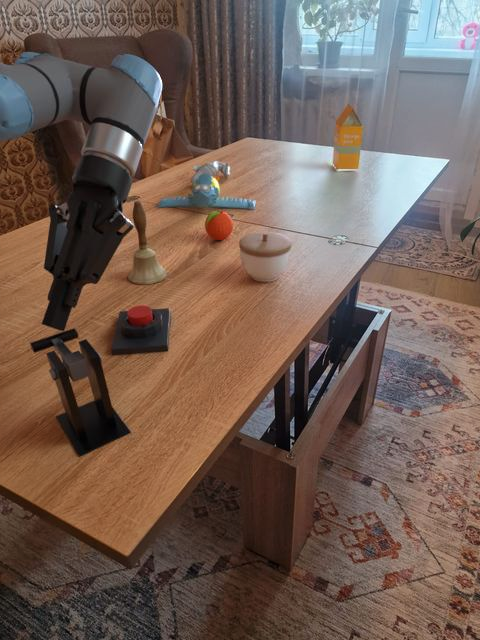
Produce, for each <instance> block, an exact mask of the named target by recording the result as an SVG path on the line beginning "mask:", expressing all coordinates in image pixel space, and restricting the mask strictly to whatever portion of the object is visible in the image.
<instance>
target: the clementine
mask: <svg viewBox="0 0 480 640" xmlns="http://www.w3.org/2000/svg"><path fill="white" fill-rule="evenodd" d="M204 229H205V232H206V234H207V235H208V236H209V237H210V238H211V239H214V240H216V241H223V240H226V239H227V238H229V237H230V236H231V235H232V233H233V230H234V222H233V219H232V217H231V216H230V214H228V213H227V212H226V211H224V210H214V211H212V212H211V213H209V214H208V215H207V216H206V219H205V222H204Z"/></svg>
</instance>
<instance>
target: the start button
mask: <svg viewBox="0 0 480 640" xmlns="http://www.w3.org/2000/svg"><path fill="white" fill-rule="evenodd" d="M151 309H152V308H151V307H150V306H148V305H136V306H132V307H130V308H129V309H128V310H127V311H128V312H127V315H128V320H129V323H130V324H131V325H134V326H140V325H146V324H148V323H150V322H152V321H153V316H152V310H151Z"/></svg>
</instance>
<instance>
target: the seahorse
mask: <svg viewBox="0 0 480 640" xmlns="http://www.w3.org/2000/svg"><path fill="white" fill-rule="evenodd" d="M192 170H193V171H194V172H195V173H193V175H192V177H191V181H190V182H191V183H192V185H194V182H195V181H194V180H196V179H198V178H199V176H200V175H202V174H206V173H208V175H209V174H210V175H211V176H212V177H214V175H216V176H218V172H220V174H222V175H223V176H224V178H225V179H226V180H227V179H229V178H230V171H231V166H230V165H229V162H228V161H227V162H226V163H224V162H222V161H219V160H218V161H217V160H212V161H209V162H206V163H204V164H201V165H195V166H193V168H192Z"/></svg>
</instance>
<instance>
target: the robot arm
mask: <svg viewBox="0 0 480 640" xmlns="http://www.w3.org/2000/svg"><path fill="white" fill-rule="evenodd" d="M162 91H163V82H162V79H161V76H160V74H159V72H158V71H157V70H156V68H155V67H153V65H151V64H150V63H149V62H147V61H146V60H145V59H143V58H141V57H139V56H137V55H133V54H129V53H125V54H123V55H122V54H119V55H116V56H115V57H114V58H113V60H112V62H111V63H110V64H109V67H108V69H105V68H101V67H95V66H90V65H87V64H83V63H79V62H75V61H71V60H68V59H63V58H60V57H56V56H54V55H52V54H49V53H38V52H33V51H26V52H22V53H21V54H20V55H19V56H18V58H17V59H16V60H15V61H14V62H13V64H5V63H3V62H1V61H0V142H5V141H13V140H16V139H20V138H22V137H24V136H26V135H27V134H30V133H33V132H34V131H38V130H41V129H43V128H47V127H49V126H52V125H55V124H57V123H62V122H64V121H74V122H78V123H82V124H84V125H89V129H88V132H87V134H86V137H85V140H84V143H83V145H82V148H81V151H80V154H81V156H80V157H79V158H78V160H77V163H76V166H75V168H74V172H73V174H72V177H71V180H72V187H73V188H72V191H71V192H70V194H69V195H68V196H67V198H66V201H65V202H64V203H62V204H60V205H56V204H55V203H51V204H49V206H48V213H49V219H50V221H49V227H48V236H47V243H46V249H45V256H44V263H43V269H44V270H45V271H47V272H48V273H49V274H50V275H52V277H53V278H52V282H51V285H50V287H49V291H48V294H47V301H48V304H47V306H46V310H45V313H44V316H43V318H42V322H41V325H43V326H45V327H48V328H52V329H55V330H58V331H61V332H64V331H66V327H67V324H68V321H69V317H70V314H71V312H72V309H75V308H76V307H77V305H78V302H79V300H80V297H81V294H82V290H83V288H84V287H85V286H86V285H88V284H89V285H90V284H92V285H97V284H99V282H100V280H101V279H102V277H103V275H104V274H105V271H106V270H107V268H108V266H109V265H110V262H111V260H112V259H113V257H114V255H115V254H116V251H117V250H118V248H119V246H120V244H121V243H122V241H123V239H124V238H125V237H126V236H127V235H128V234H129V233H130V232H131V231H132V230H133V229H134V227H135V225H134V222H132V221H130V220H129V219H128V218H127V217H125V215H124V214H123V211H124V208H123V205H124V204H125V203H126V202H127V201H128V198H129V194H130V192H131V188H132V185H133V182H134V181H133V177H135V175H136V172H137V169H138V166H139V163H140V160H141V158H142V154H143V151H144V148H145V144H146V141H147V139H148V136H149V133H150V130H151V128H152V125H153V123H154V119H155V116H156V115H157V113H158V108H159V107H158V106H159V102H160V99H161V95H162Z"/></svg>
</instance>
